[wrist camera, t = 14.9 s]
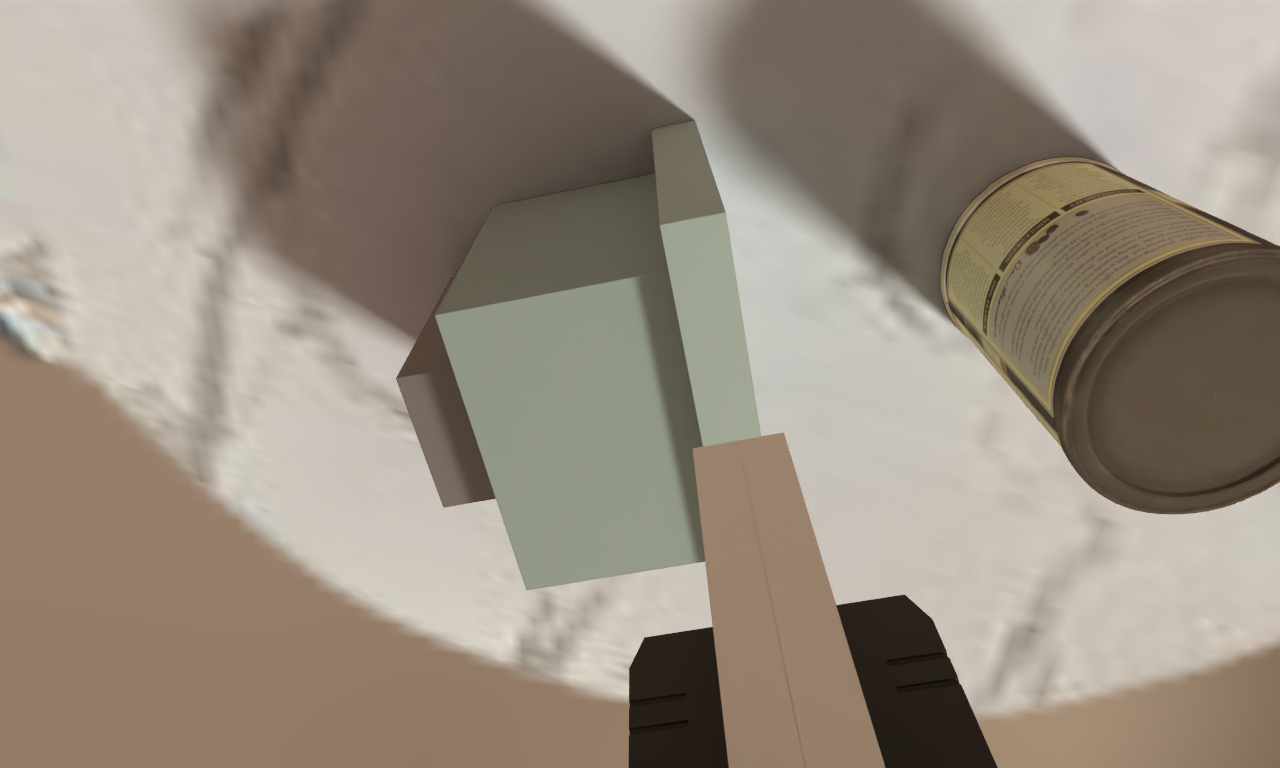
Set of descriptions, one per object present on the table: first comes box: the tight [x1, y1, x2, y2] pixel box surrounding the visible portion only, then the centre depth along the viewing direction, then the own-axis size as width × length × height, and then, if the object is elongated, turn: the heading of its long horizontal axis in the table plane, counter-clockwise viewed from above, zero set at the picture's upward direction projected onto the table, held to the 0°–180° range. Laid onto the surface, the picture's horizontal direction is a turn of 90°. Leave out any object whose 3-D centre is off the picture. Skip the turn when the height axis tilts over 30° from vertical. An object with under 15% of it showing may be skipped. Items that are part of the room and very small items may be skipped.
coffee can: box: [941, 157, 1280, 514], centre depth 36 cm, size 10×10×14 cm
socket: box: [435, 120, 761, 590], centre depth 37 cm, size 10×16×15 cm, turn 11°
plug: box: [396, 277, 496, 507], centre depth 38 cm, size 10×6×11 cm, turn 101°
